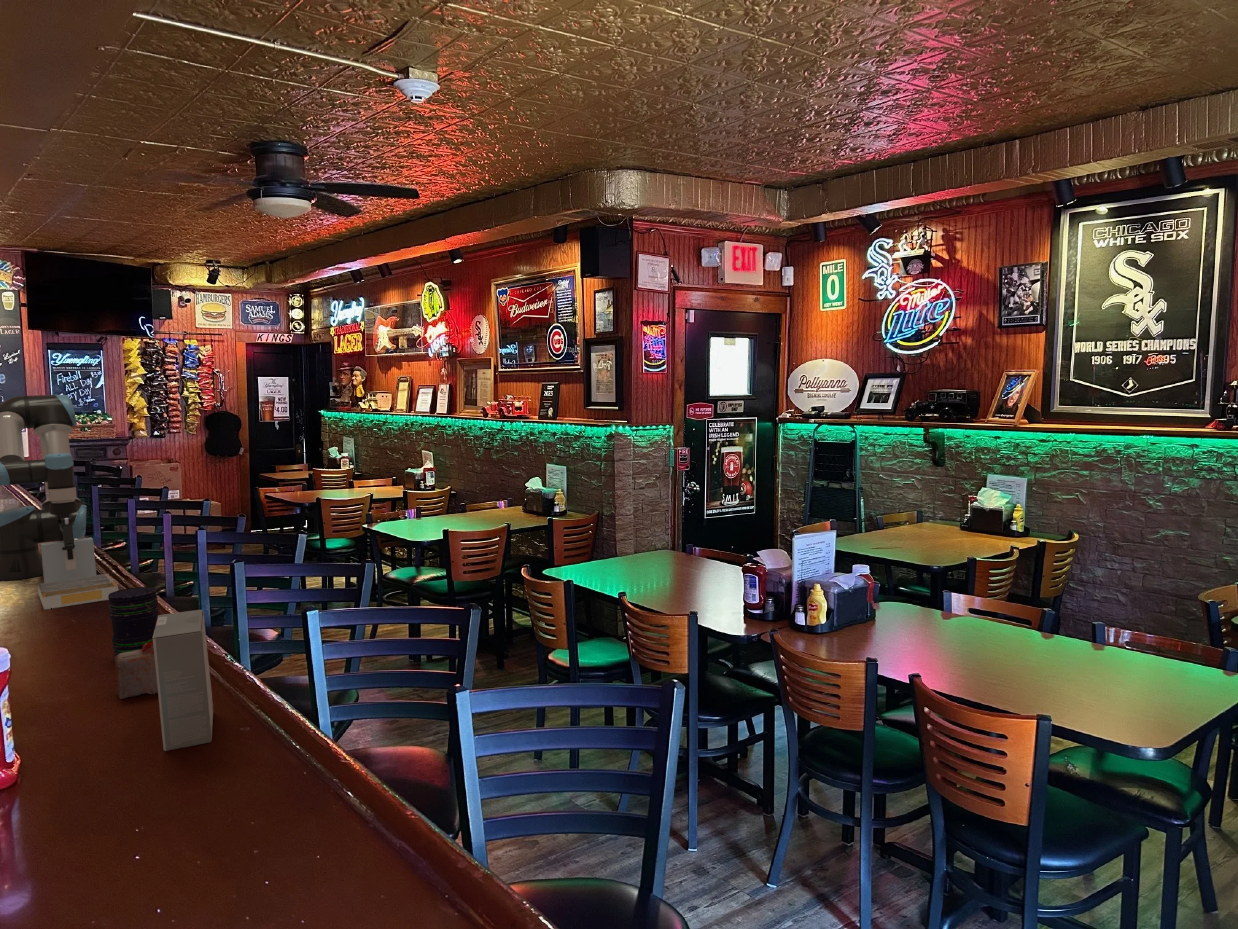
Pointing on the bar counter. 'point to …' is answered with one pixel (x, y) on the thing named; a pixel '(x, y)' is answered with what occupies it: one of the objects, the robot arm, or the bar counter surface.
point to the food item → (136, 672)
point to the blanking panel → (56, 560)
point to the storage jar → (132, 618)
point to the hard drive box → (183, 679)
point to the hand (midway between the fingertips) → (69, 566)
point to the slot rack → (76, 591)
